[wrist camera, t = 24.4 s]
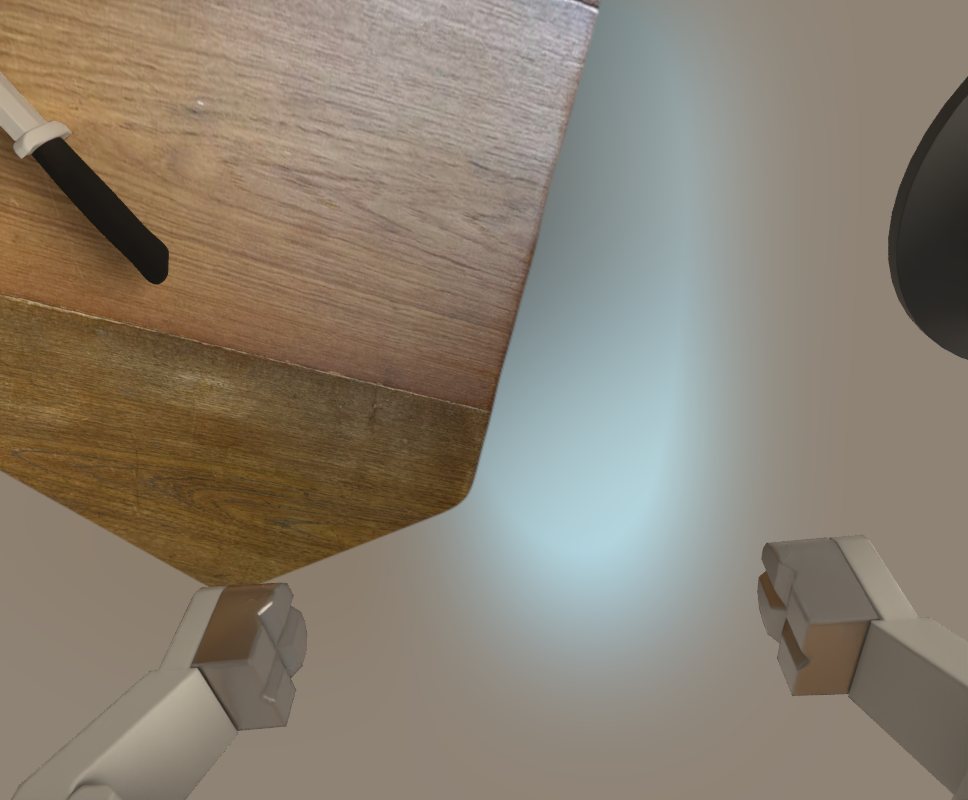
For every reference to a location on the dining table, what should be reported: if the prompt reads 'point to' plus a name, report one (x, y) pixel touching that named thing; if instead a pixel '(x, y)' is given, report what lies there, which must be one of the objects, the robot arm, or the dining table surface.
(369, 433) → the dining table surface
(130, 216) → the knife
